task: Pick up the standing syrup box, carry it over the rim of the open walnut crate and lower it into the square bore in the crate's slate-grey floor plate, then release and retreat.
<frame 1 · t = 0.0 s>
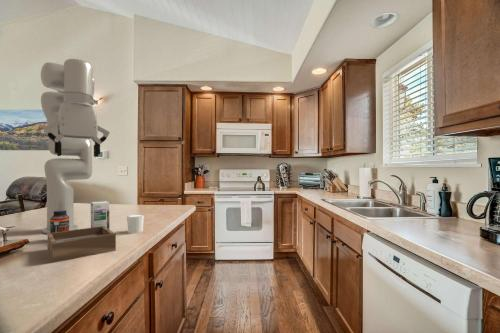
hand: (78, 156, 82), 31 cm above the countertop, tool pointing down, fingers open, 9 cm apart
supplement bottle: (59, 240, 100), on the countertop
syrup box: (100, 239, 102), on the countertop
crate: (81, 250, 88), on the countertop
white cup: (135, 232, 113), on the countertop
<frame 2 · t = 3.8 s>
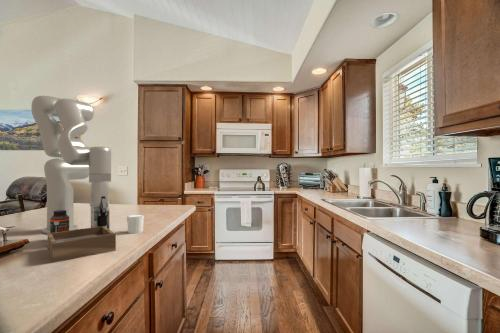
hand: (100, 224, 102), 6 cm above the countertop, tool pointing down, fingers closed on syrup box, 6 cm apart
syrup box: (100, 239, 102), on the countertop, touching gripper
everything else where it was.
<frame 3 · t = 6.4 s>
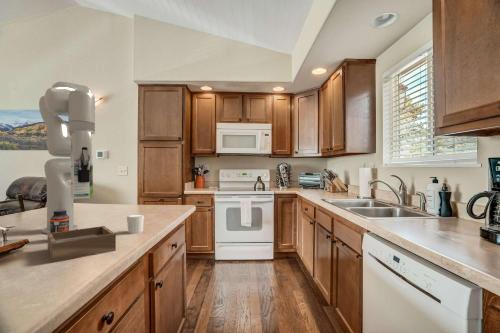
hand: (81, 181, 88), 23 cm above the countertop, tool pointing down, fingers closed on syrup box, 6 cm apart
syrup box: (81, 198, 88), point 17 cm above the countertop, touching gripper
everything else where it was.
when the fingers open (7 cm above the countertop, at t = 9.3 s): syrup box drops 1 cm, resting in crate.
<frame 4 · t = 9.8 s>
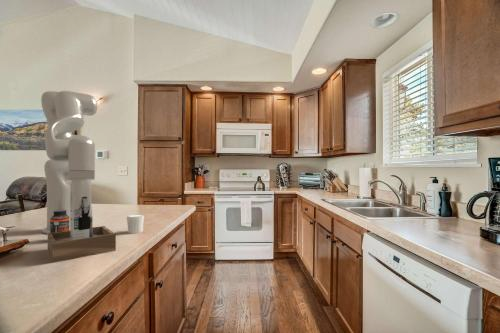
hand: (81, 226, 88), 8 cm above the countertop, tool pointing down, fingers open, 9 cm apart
syrup box: (81, 250, 88), resting in crate
everything else where it was.
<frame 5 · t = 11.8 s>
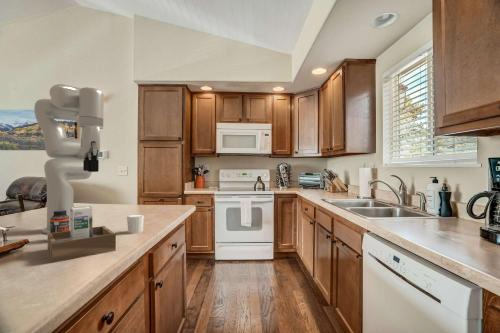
hand: (90, 171, 94), 26 cm above the countertop, tool pointing down, fingers open, 9 cm apart
nothing on the countertop moved.
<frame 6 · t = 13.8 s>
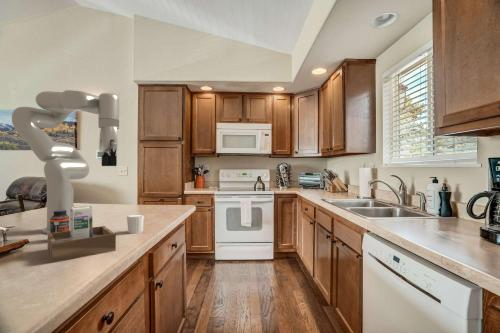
hand: (108, 166, 108), 28 cm above the countertop, tool pointing down, fingers open, 9 cm apart
nothing on the countertop moved.
at the end: syrup box 0.4 cm off-centre on the crate, point 0.0 cm above the crate's base; syrup box tilted 0°; the gripper is holding nothing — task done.
